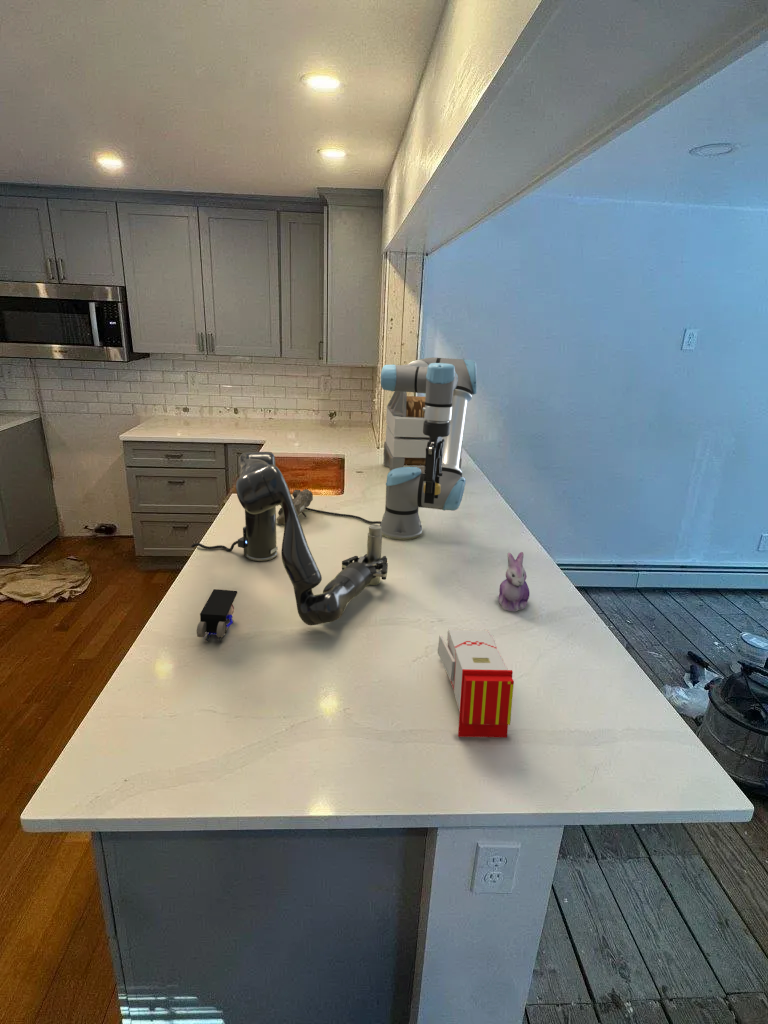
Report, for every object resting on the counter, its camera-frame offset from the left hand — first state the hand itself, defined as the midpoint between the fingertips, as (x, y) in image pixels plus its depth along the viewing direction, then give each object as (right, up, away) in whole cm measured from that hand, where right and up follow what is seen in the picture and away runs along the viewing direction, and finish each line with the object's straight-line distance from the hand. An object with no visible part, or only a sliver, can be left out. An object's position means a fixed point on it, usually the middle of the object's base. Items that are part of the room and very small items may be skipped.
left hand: (377, 557), depth 164 cm
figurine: (+37, -12, -9) cm, 40 cm away
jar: (-1, -7, 0) cm, 7 cm away
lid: (+16, +21, 0) cm, 26 cm away
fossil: (-31, +11, +47) cm, 58 cm away
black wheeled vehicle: (-38, -15, -28) cm, 49 cm away
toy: (+20, -25, -46) cm, 55 cm away
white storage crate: (+19, +32, +111) cm, 117 cm away
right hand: (+16, +17, +1) cm, 23 cm away
